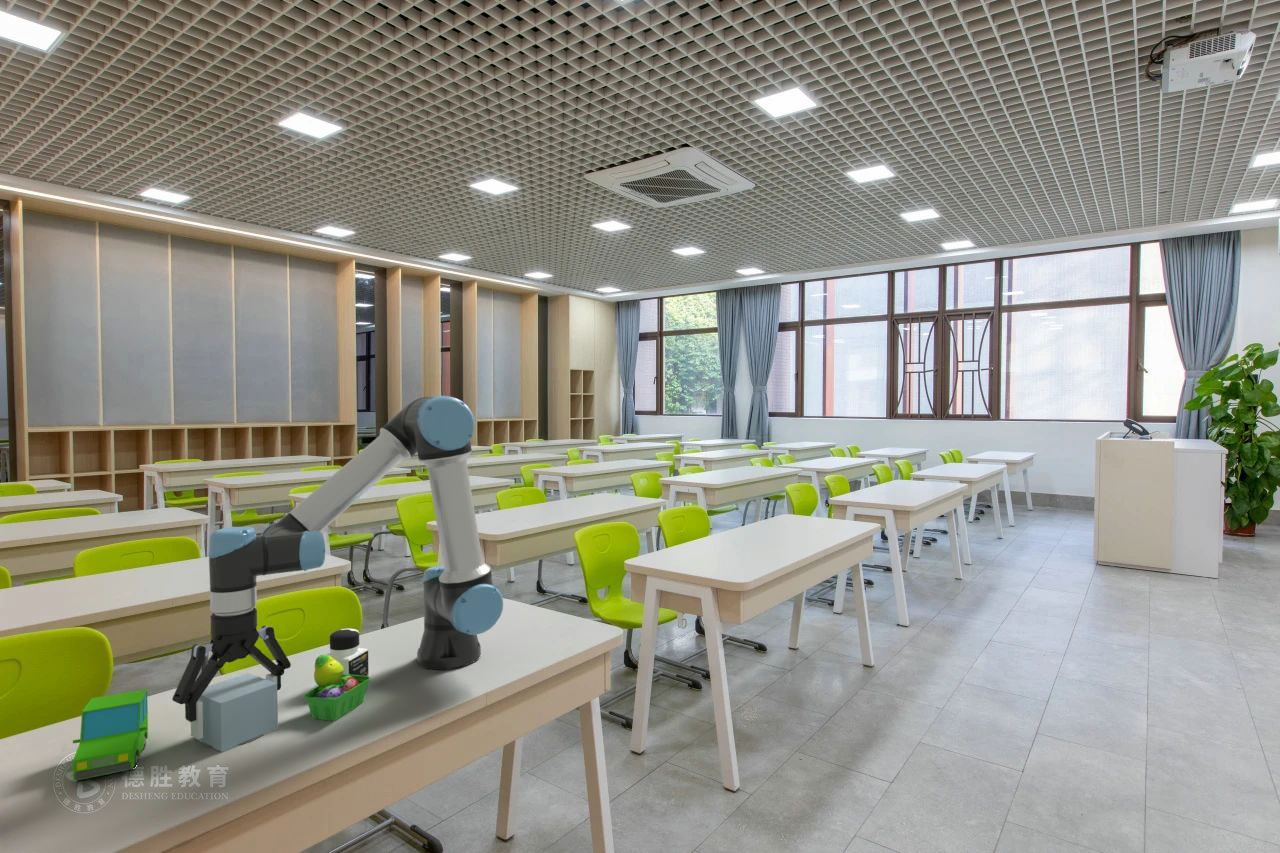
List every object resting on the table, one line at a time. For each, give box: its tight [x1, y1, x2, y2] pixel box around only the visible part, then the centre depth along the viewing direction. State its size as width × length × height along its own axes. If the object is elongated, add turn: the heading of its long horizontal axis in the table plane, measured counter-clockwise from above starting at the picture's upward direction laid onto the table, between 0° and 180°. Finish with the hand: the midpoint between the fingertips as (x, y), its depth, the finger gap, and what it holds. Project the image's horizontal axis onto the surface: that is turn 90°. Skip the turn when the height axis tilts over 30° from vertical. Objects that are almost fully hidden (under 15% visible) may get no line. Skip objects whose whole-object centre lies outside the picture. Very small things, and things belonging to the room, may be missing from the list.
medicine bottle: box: [326, 628, 370, 677], centre depth 149 cm, size 7×7×12 cm
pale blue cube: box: [192, 672, 279, 753], centre depth 126 cm, size 10×10×9 cm
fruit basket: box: [303, 653, 371, 722], centre depth 136 cm, size 11×9×11 cm
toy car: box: [72, 688, 149, 782], centre depth 115 cm, size 10×13×10 cm
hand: (236, 722), depth 126 cm, fingers open, 13 cm apart
